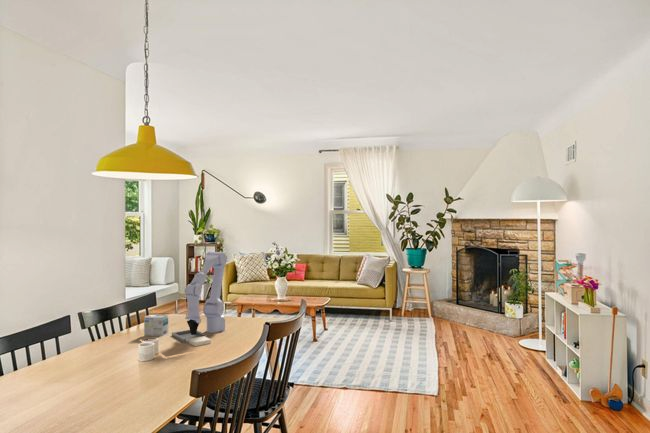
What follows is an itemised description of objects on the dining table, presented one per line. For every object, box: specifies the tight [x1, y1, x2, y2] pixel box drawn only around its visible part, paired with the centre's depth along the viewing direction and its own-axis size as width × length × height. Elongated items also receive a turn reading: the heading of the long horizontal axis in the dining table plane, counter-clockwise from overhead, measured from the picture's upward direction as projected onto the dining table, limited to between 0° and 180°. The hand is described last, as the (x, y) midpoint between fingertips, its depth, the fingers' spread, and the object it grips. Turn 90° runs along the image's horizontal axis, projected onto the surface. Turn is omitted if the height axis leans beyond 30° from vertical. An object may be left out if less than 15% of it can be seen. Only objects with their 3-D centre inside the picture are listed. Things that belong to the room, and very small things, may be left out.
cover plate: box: [188, 336, 212, 347], centre depth 216 cm, size 8×8×2 cm
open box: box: [171, 329, 208, 344], centre depth 226 cm, size 12×17×2 cm
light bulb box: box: [143, 314, 169, 337], centre depth 233 cm, size 11×7×11 cm, turn 84°
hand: (193, 334), depth 222 cm, fingers closed
